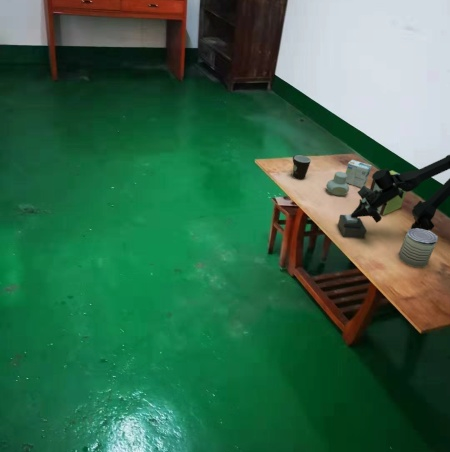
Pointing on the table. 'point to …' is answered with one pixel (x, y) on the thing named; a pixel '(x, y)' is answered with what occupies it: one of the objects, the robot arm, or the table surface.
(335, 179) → the air freshener
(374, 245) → the table surface
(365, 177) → the light bulb box
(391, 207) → the protein box
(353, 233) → the stepped grey pedestal
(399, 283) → the table surface
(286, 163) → the table surface
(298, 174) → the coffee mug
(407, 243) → the can
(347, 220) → the pad
